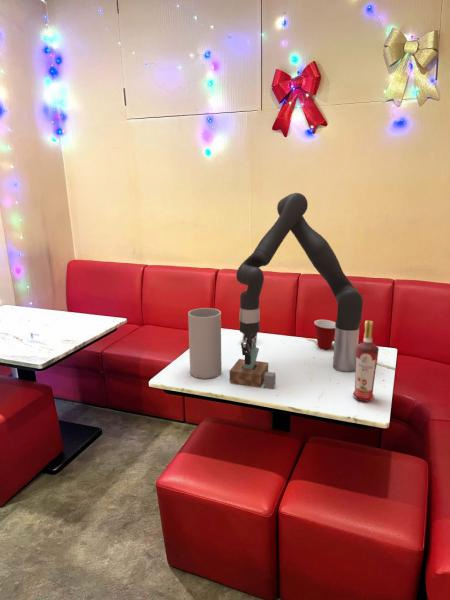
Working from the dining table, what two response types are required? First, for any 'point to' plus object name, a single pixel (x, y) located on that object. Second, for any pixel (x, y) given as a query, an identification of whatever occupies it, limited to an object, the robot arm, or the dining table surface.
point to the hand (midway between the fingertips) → (249, 362)
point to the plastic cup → (325, 333)
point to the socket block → (248, 373)
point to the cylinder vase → (205, 342)
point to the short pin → (269, 380)
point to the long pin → (252, 359)
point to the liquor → (365, 365)
